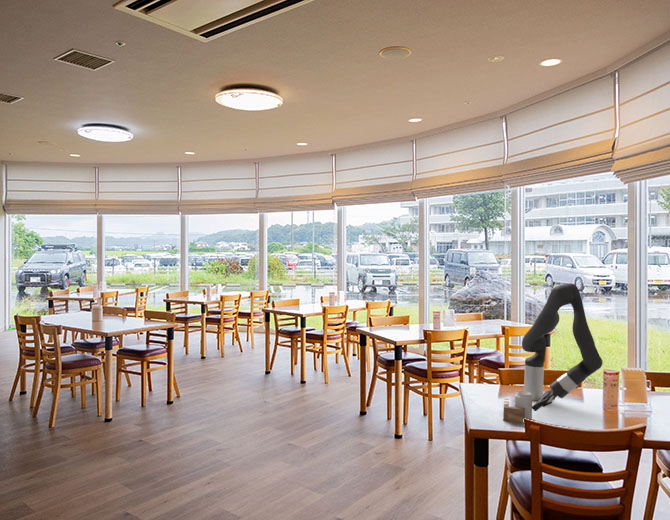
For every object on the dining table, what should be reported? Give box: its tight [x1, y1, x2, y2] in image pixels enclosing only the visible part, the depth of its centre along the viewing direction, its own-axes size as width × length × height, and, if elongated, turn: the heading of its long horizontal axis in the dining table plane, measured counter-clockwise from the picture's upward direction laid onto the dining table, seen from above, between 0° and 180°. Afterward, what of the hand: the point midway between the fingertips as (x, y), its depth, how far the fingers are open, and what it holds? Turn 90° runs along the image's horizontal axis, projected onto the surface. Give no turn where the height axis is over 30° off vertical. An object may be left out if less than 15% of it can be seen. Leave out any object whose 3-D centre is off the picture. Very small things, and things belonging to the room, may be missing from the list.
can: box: [514, 390, 533, 420], centre depth 230 cm, size 8×8×12 cm
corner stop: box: [502, 398, 525, 424], centre depth 232 cm, size 14×9×7 cm, turn 160°
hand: (533, 409), depth 229 cm, fingers closed
